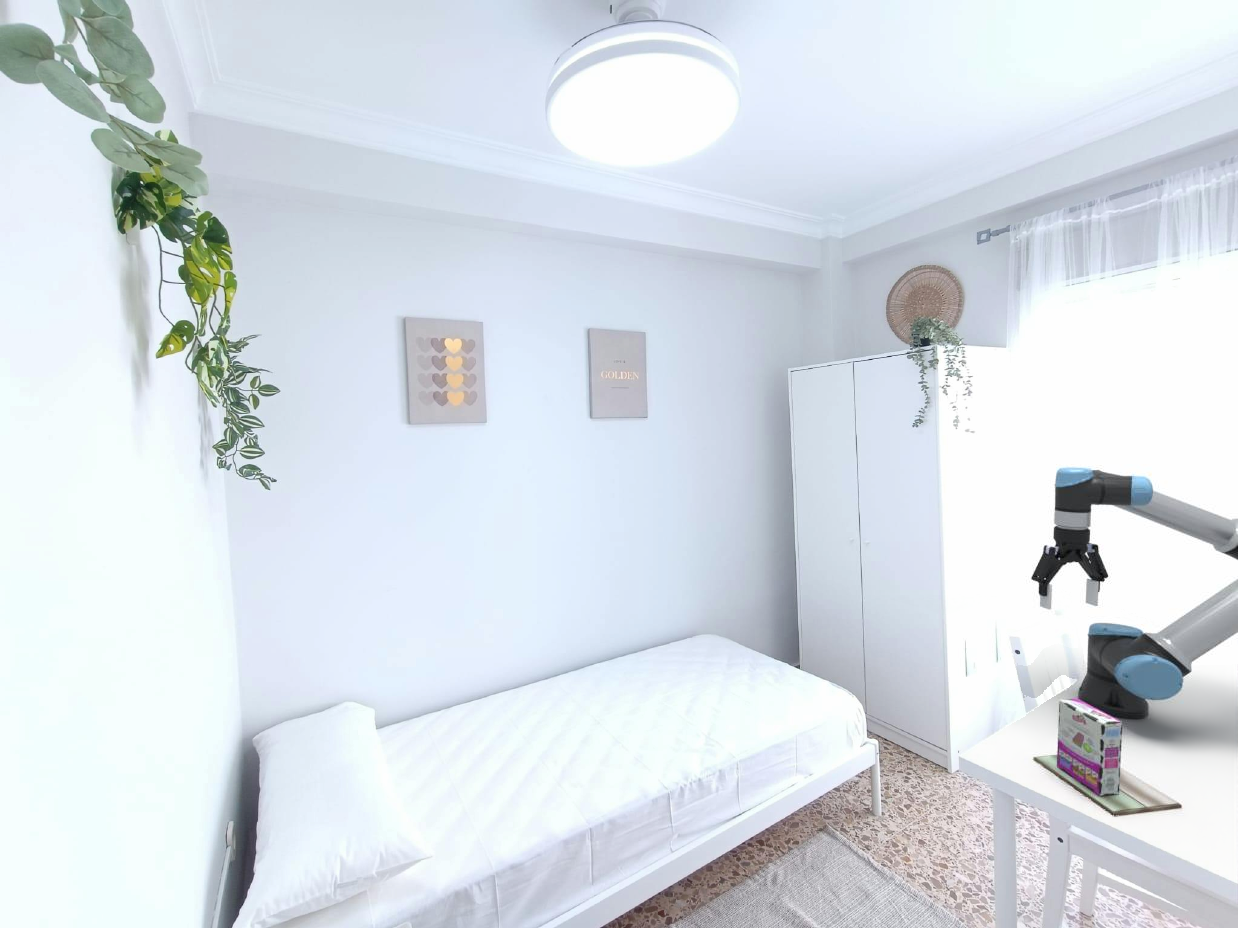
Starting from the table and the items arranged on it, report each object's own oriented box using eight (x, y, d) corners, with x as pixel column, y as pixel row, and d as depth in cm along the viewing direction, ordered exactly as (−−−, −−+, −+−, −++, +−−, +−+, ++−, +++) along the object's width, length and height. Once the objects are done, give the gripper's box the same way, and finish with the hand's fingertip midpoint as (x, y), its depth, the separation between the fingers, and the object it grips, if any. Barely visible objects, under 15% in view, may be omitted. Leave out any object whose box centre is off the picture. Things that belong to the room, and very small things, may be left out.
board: (1092, 752, 141) (1092, 749, 141) (1181, 807, 122) (1181, 803, 122) (1033, 759, 140) (1033, 756, 139) (1113, 815, 120) (1114, 812, 120)
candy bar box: (1121, 795, 125) (1124, 721, 124) (1100, 797, 124) (1103, 724, 123) (1074, 764, 136) (1077, 696, 135) (1055, 766, 135) (1057, 698, 134)
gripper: (1100, 521, 157) (1097, 598, 159) (1016, 526, 154) (1014, 604, 156) (1128, 527, 149) (1124, 607, 151) (1040, 531, 146) (1037, 613, 148)
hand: (1068, 606), depth 153 cm, fingers open, 13 cm apart
